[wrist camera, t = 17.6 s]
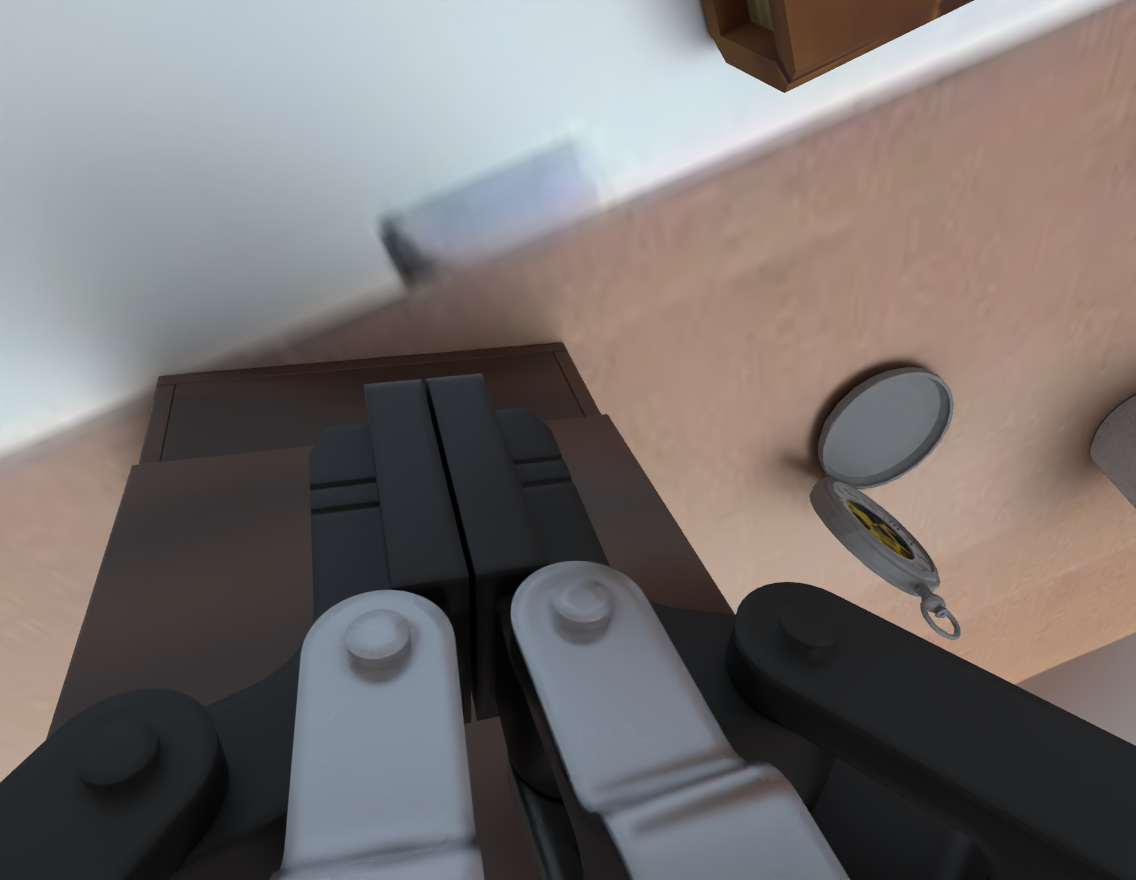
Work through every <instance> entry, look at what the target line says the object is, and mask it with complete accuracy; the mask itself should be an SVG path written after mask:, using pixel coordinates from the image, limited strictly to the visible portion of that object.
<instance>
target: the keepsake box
mask: <svg viewBox="0 0 1136 880" xmlns="http://www.w3.org/2000/svg"><path fill="white" fill-rule="evenodd" d="M470 374H482V375H483V377H484V380H485V382H486V385H487V388H488V391H489V394H490V397H491V399H492V402H493V405H494V408H495V410H501V409H511V408H521V407H526V408H527V409H528V410H529V411H531V412H532V413H533V414H534V415H535V416H537V417H538V418H539V419H540V420H541V421H548V420H558V419H567V418H576V417H585V416H595V415H601V413H600V412H599V410H598V408H597V406H596V404H595V402H594V400H593V398H592V397H591V395H590V393H589V391H588V389H587V387H586V385H585V383H584V381H583V380H582V378H581V376H580V374H579V372H578V370H577V368H576V366H575V364H574V363H573V361H572V359H571V357H570V355H569V353H568V352H567V349H566V347H565V345H564V343H557V344H545V345H533V346H521V347H509V348H497V349H485V350H473V351H461V352H449V353H437V354H425V355H413V356H401V357H389V358H377V359H365V360H353V361H341V362H329V363H317V364H305V365H293V366H281V367H269V368H257V369H245V370H233V371H221V372H209V373H197V374H185V375H173V376H161V377H159V378H158V382H157V387H156V392H155V396H154V400H153V405H152V409H151V413H150V418H149V422H148V426H147V431H146V435H145V439H144V444H143V448H142V452H141V456H140V461H139V464H148V463H158V462H167V461H176V460H186V459H195V458H204V457H214V456H223V455H232V454H241V453H251V452H260V451H269V450H279V449H288V448H297V447H306V446H315V444H316V443H317V441H318V439H319V438H320V436H321V434H322V433H323V431H324V430H325V428H329V427H339V426H348V425H358V424H368V418H367V409H366V399H365V389H364V384H374V383H385V382H396V381H407V380H418V379H421V380H422V382H423V386H424V390H425V379H426V378H437V377H448V376H459V375H470Z"/></svg>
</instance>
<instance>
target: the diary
mask: <svg viewBox="0 0 1136 880" xmlns="http://www.w3.org/2000/svg"><path fill="white" fill-rule="evenodd" d="M971 1H973V0H702V5H703V9H704V13H705V18H706V22H707V27H708V31H709V33H710V34H711V36H712V38H713V40H714V41H715V43H716V45H717V47H718V49H719V50H720V52H721V54H722V56H723V58H724V59H725V61H726V63H728V64H730V65H732V66H734V67H736V68H738V69H740V70H742V71H743V72H745V73H747V74H749V75H751V76H753V77H755V78H757V79H759V80H761V81H763V82H764V83H766V84H768V85H770V86H772V87H774V88H776V89H778V90H780V91H782V92H784V93H785V92H787V91H789V90H791V89H793V88H796V87H798V86H800V85H802V84H804V83H806V82H808V81H810V80H812V79H814V78H816V77H818V76H820V75H822V74H824V73H826V72H828V71H830V70H832V69H834V68H836V67H838V66H840V65H843V64H845V63H847V62H849V61H851V60H853V59H855V58H857V57H859V56H861V55H863V54H865V53H867V52H869V51H871V50H873V49H875V48H877V47H879V46H881V45H883V44H885V43H887V42H890V41H892V40H894V39H896V38H898V37H900V36H902V35H904V34H906V33H908V32H910V31H912V30H914V29H916V28H918V27H920V26H922V25H924V24H926V23H928V22H930V21H932V20H934V19H937V18H939V17H941V16H943V15H945V14H947V13H949V12H951V11H953V10H955V9H957V8H959V7H961V6H963V5H965V4H967V3H969V2H971Z"/></svg>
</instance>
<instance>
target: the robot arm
mask: <svg viewBox="0 0 1136 880" xmlns="http://www.w3.org/2000/svg"><path fill="white" fill-rule="evenodd" d="M364 389H365V399H366V409H367V418H368V424H358V425H348V426H339V427H329V428H325V430H324V431H323V433H322V434H321V436H320V438H319V439H318V441H317V443H316V444H315V446H314V447H313V449H312V451H311V452H310V454H309V478H310V509H311V541H312V572H313V603H314V610H313V620H312V624H311V627H310V630H309V632H308V633H307V635H306V638H305V640H304V642H303V643H302V645H301V646H300V648H299V649H298V651H297V652H296V653H295V654H294V655H293V656H292V657H291V658H290V659H289V660H288V661H287V662H286V663H285V664H284V665H283V666H282V667H280V668H279V669H278V670H277V671H275V672H274V673H272V674H271V675H269V676H268V677H266V678H265V679H263V680H261V681H259V682H258V683H256V684H254V685H252V686H250V687H248V688H245V689H243V690H241V691H239V692H237V693H234V694H232V695H230V696H228V697H226V698H223V699H221V700H219V701H217V702H214V703H212V704H210V705H208V706H206V707H204V706H203V705H202V704H201V703H200V702H199V701H197V700H196V699H194V698H192V697H191V696H189V695H187V694H184V693H181V692H178V691H174V690H167V689H142V690H134V691H129V692H126V693H122V694H118V695H115V696H112V697H110V698H107V699H104V700H102V701H100V702H98V703H96V704H94V705H92V706H90V707H88V708H86V709H84V710H83V711H81V712H80V713H78V714H77V715H75V716H74V717H72V718H71V719H70V720H68V721H67V722H66V723H65V724H64V725H62V726H61V727H60V728H59V729H58V730H56V731H55V732H54V733H53V734H52V735H51V736H50V737H49V738H48V739H47V740H46V741H45V742H44V743H42V744H41V745H40V746H39V747H38V748H37V749H36V750H35V751H34V752H33V753H32V754H31V755H30V756H28V757H27V758H26V759H25V760H24V761H23V762H22V763H21V764H20V765H19V766H18V767H17V768H16V769H14V770H13V771H12V772H11V773H10V774H9V775H8V776H7V777H6V778H5V779H4V780H3V781H2V782H0V880H485V879H484V871H483V863H482V856H481V850H480V844H479V840H478V839H477V836H476V830H475V823H474V814H473V804H472V795H471V785H470V776H469V766H468V757H467V747H466V738H465V724H466V723H471V693H472V698H473V702H474V707H475V712H476V717H477V721H479V720H484V719H489V718H494V717H499V716H500V721H501V725H502V729H503V733H504V737H505V742H506V746H507V765H506V771H507V781H508V786H509V789H510V792H511V796H512V799H513V802H514V805H515V808H516V811H517V815H518V818H519V821H520V824H521V827H522V831H523V834H524V837H525V840H526V843H527V846H528V850H529V853H530V856H531V859H532V862H533V866H534V869H535V872H536V875H537V878H538V880H1136V746H1135V745H1133V744H1131V743H1129V742H1127V741H1125V740H1123V739H1121V738H1119V737H1117V736H1115V735H1113V734H1111V733H1109V732H1107V731H1105V730H1103V729H1101V728H1099V727H1097V726H1095V725H1093V724H1091V723H1089V722H1087V721H1085V720H1083V719H1081V718H1079V717H1077V716H1075V715H1073V714H1071V713H1069V712H1067V711H1065V710H1063V709H1061V708H1059V707H1057V706H1055V705H1053V704H1051V703H1049V702H1048V701H1046V700H1043V699H1042V698H1040V697H1037V696H1036V695H1034V694H1032V693H1029V692H1028V691H1026V690H1023V689H1022V688H1020V687H1018V686H1016V685H1014V684H1012V683H1010V682H1008V681H1006V680H1004V679H1002V678H1000V677H998V676H996V675H994V674H992V673H990V672H988V671H986V670H984V669H982V668H980V667H978V666H976V665H974V664H972V663H970V662H968V661H966V660H964V659H962V658H960V657H958V656H956V655H954V654H952V653H950V652H948V651H946V650H944V649H942V648H940V647H938V646H936V645H934V644H932V643H930V642H928V641H927V640H925V639H923V638H921V637H919V636H917V635H915V634H913V633H911V632H909V631H907V630H905V629H903V628H901V627H899V626H897V625H895V624H893V623H891V622H889V621H887V620H885V619H883V618H881V617H879V616H877V615H875V614H873V613H871V612H869V611H867V610H865V609H863V608H861V607H859V606H857V605H855V604H853V603H851V602H849V601H847V600H845V599H843V598H841V597H839V596H837V595H835V594H833V593H831V592H829V591H826V590H824V589H822V588H818V587H815V586H812V585H808V584H802V583H794V582H780V583H773V584H768V585H765V586H762V587H760V588H757V589H756V590H754V591H752V592H751V593H749V594H748V595H747V596H746V597H745V598H744V599H743V600H742V602H741V604H740V605H739V607H738V610H737V613H736V615H733V614H724V613H714V612H704V611H694V610H685V609H679V608H673V607H669V606H665V605H662V604H659V603H656V602H654V601H651V600H649V599H647V597H646V596H645V594H644V593H643V591H642V590H641V589H640V587H639V586H638V585H637V584H636V583H635V582H634V581H633V580H631V579H630V578H629V577H627V576H626V575H625V574H623V573H621V572H619V571H617V570H615V569H613V568H611V566H610V564H609V562H608V560H607V558H606V555H605V553H604V551H603V548H602V546H601V544H600V541H599V539H598V537H597V535H596V532H595V530H594V528H593V525H592V523H591V521H590V518H589V516H588V514H587V511H586V509H585V507H584V504H583V502H582V500H581V498H580V495H579V493H578V491H577V488H576V486H575V484H574V482H572V480H571V474H570V472H569V470H568V467H567V465H566V463H565V460H562V454H561V451H560V449H559V447H558V444H557V442H556V440H555V437H554V435H553V433H552V430H551V428H550V427H549V426H547V425H546V424H545V423H544V422H543V421H541V420H540V419H539V418H538V417H537V416H535V415H534V414H533V413H532V412H531V411H529V410H528V409H527V408H526V407H521V408H511V409H501V410H495V408H494V405H493V402H492V399H491V397H490V394H489V391H488V388H487V385H486V382H485V380H484V377H483V375H482V374H470V375H459V376H448V377H437V378H426V379H425V390H424V386H423V382H422V380H421V379H418V380H407V381H396V382H385V383H374V384H364Z"/></svg>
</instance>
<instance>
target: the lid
mask: <svg viewBox="0 0 1136 880" xmlns="http://www.w3.org/2000/svg"><path fill="white" fill-rule="evenodd" d="M543 422H544V423H545V424H546V425H547V426H549V427H550V428H551V430H552V433H553V435H554V437H555V440H556V442H557V444H558V447H559V449H560V451H561V454H562V460H565V463H566V465H567V467H568V470H569V472H570V474H571V480H572V482H574V484H575V486H576V488H577V491H578V493H579V495H580V498H581V500H582V502H583V504H584V507H585V509H586V511H587V514H588V516H589V518H590V521H591V523H592V525H593V528H594V530H595V532H596V535H597V537H598V539H599V541H600V544H601V546H602V548H603V551H604V553H605V555H606V558H607V560H608V562H609V564H610V566H611V568H613V569H615V570H617V571H619V572H621V573H623V574H625V575H626V576H627V577H629V578H630V579H631V580H633V581H634V582H635V583H636V584H637V585H638V586H639V587H640V589H641V590H642V591H643V593H644V594H645V596H646V597H647V599H649V600H651V601H654V602H656V603H659V604H662V605H665V606H669V607H673V608H679V609H685V610H694V611H704V612H714V613H724V614H733V615H735V614H734V612H733V611H732V609H731V607H730V606H729V604H728V603H727V601H726V600H725V598H724V596H723V595H722V593H721V592H720V590H719V589H718V587H717V585H716V584H715V582H714V581H713V579H712V578H711V576H710V574H709V573H708V571H707V570H706V568H705V567H704V565H703V563H702V562H701V560H700V559H699V557H698V556H697V554H696V552H695V551H694V549H693V548H692V546H691V545H690V543H689V541H688V540H687V538H686V537H685V535H684V534H683V532H682V530H681V529H680V527H679V526H678V524H677V523H676V521H675V519H674V518H673V516H672V515H671V513H670V512H669V510H668V508H667V507H666V505H665V504H664V502H663V501H662V499H661V497H660V496H659V494H658V493H657V491H656V490H655V488H654V486H653V485H652V483H651V482H650V480H649V479H648V477H647V475H646V474H645V472H644V471H643V469H642V468H641V466H640V465H639V463H638V461H637V460H636V458H635V457H634V455H633V454H632V452H631V450H630V449H629V447H628V446H627V444H626V443H625V441H624V439H623V438H622V436H621V435H620V433H619V432H618V430H617V428H616V427H615V425H614V424H613V422H612V421H611V419H610V417H609V416H608V415H607V414H604V415H595V416H585V417H576V418H567V419H558V420H548V421H543ZM313 447H314V446H306V447H297V448H288V449H279V450H269V451H260V452H251V453H241V454H232V455H223V456H214V457H204V458H195V459H186V460H176V461H167V462H158V463H148V464H139V465H133V466H132V467H131V470H130V474H129V477H128V480H127V483H126V486H125V490H124V493H123V496H122V499H121V502H120V506H119V509H118V512H117V515H116V518H115V522H114V525H113V528H112V531H111V534H110V538H109V541H108V544H107V547H106V550H105V553H104V557H103V560H102V563H101V566H100V569H99V573H98V576H97V579H96V582H95V585H94V589H93V592H92V595H91V598H90V601H89V605H88V608H87V611H86V614H85V617H84V621H83V624H82V627H81V630H80V633H79V636H78V640H77V643H76V646H75V649H74V652H73V656H72V659H71V662H70V665H69V668H68V672H67V675H66V678H65V681H64V684H63V688H62V691H61V694H60V697H59V700H58V704H57V707H56V710H55V713H54V716H53V719H52V723H51V726H50V729H49V732H48V735H47V739H48V738H49V737H50V736H51V735H52V734H53V733H54V732H55V731H56V730H58V729H59V728H60V727H61V726H62V725H64V724H65V723H66V722H67V721H68V720H70V719H71V718H72V717H74V716H75V715H77V714H78V713H80V712H81V711H83V710H84V709H86V708H88V707H90V706H92V705H94V704H96V703H98V702H100V701H102V700H104V699H107V698H110V697H112V696H115V695H118V694H122V693H126V692H129V691H134V690H142V689H167V690H174V691H178V692H181V693H184V694H187V695H189V696H191V697H192V698H194V699H196V700H197V701H199V702H200V703H201V704H202V705H203V706H204V707H206V706H208V705H210V704H212V703H214V702H217V701H219V700H221V699H223V698H226V697H228V696H230V695H232V694H234V693H237V692H239V691H241V690H243V689H245V688H248V687H250V686H252V685H254V684H256V683H258V682H259V681H261V680H263V679H265V678H266V677H268V676H269V675H271V674H272V673H274V672H275V671H277V670H278V669H279V668H280V667H282V666H283V665H284V664H285V663H286V662H287V661H288V660H289V659H290V658H291V657H292V656H293V655H294V654H295V653H296V652H297V651H298V649H299V648H300V646H301V645H302V643H303V642H304V640H305V638H306V635H307V633H308V632H309V630H310V627H311V624H312V620H313V610H314V603H313V572H312V541H311V509H310V478H309V454H310V452H311V451H312V449H313ZM465 738H466V747H467V757H468V766H469V776H470V785H471V795H472V804H473V814H474V823H475V830H476V836H477V839H478V840H479V844H480V850H481V856H482V863H483V871H484V879H485V880H538V878H537V875H536V872H535V869H534V866H533V862H532V859H531V856H530V853H529V850H528V846H527V843H526V840H525V837H524V834H523V831H522V827H521V824H520V821H519V818H518V815H517V811H516V808H515V805H514V802H513V799H512V796H511V792H510V789H509V786H508V781H507V771H506V765H507V746H506V742H505V737H504V733H503V729H502V725H501V721H500V716H499V717H494V718H489V719H484V720H479V721H477V717H476V712H475V707H474V702H473V698H472V693H471V723H466V724H465ZM47 739H46V740H47Z"/></svg>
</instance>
